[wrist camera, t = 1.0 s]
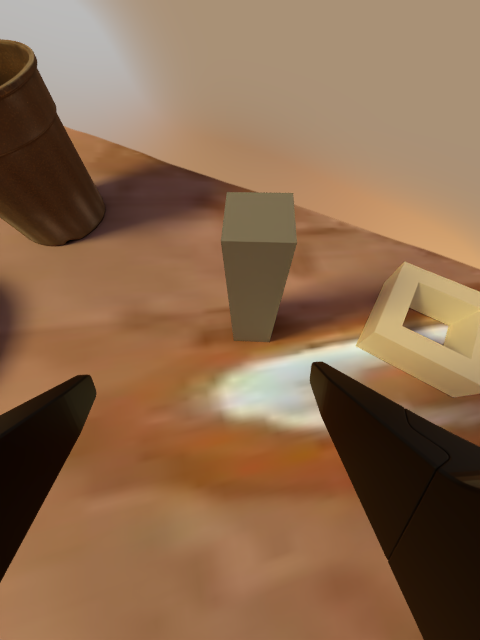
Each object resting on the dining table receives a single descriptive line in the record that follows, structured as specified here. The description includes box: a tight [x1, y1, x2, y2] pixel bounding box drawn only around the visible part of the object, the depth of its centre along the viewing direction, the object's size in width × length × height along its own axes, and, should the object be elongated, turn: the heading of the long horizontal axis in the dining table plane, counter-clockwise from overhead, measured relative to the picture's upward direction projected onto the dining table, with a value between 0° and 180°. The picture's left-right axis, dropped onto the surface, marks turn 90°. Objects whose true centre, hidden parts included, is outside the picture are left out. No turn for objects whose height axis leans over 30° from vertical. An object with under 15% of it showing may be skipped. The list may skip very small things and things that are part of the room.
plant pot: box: [0, 39, 105, 246], centre depth 28 cm, size 16×16×16 cm
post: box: [221, 192, 297, 342], centre depth 19 cm, size 4×4×15 cm
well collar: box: [356, 261, 480, 397], centre depth 23 cm, size 10×10×4 cm
